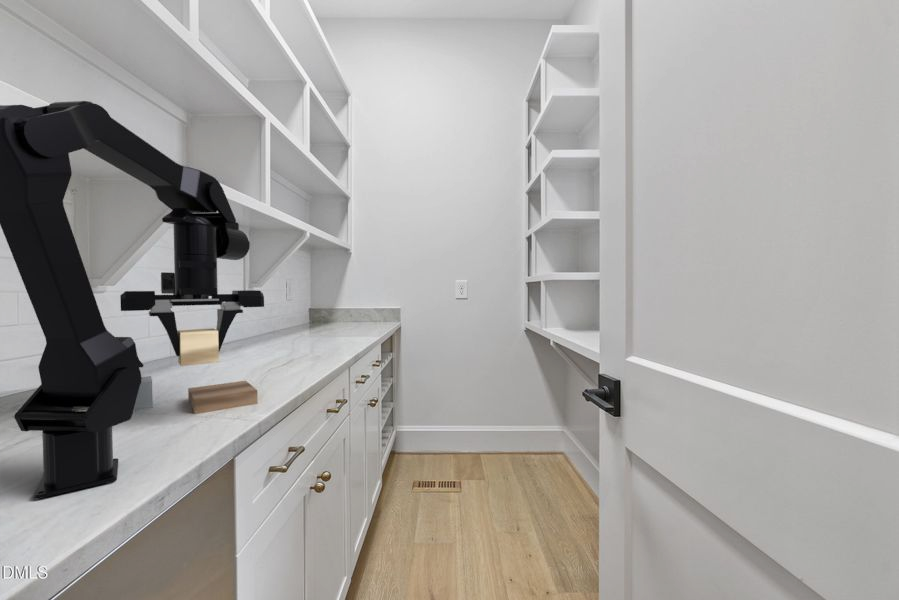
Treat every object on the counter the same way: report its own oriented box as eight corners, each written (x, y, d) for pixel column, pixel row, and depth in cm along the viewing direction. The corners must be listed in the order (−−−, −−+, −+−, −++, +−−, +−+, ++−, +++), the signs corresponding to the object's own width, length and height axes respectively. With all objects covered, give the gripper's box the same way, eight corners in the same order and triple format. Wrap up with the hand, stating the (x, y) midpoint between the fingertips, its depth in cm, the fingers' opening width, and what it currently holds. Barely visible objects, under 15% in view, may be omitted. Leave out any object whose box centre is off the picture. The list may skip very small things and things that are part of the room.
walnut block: (257, 406, 75) (257, 390, 75) (194, 416, 69) (194, 399, 69) (246, 395, 83) (245, 380, 83) (188, 403, 76) (188, 388, 76)
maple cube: (218, 362, 63) (218, 330, 63) (181, 366, 60) (180, 333, 60) (213, 358, 67) (213, 328, 67) (177, 361, 64) (177, 330, 64)
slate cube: (152, 408, 73) (152, 380, 72) (117, 413, 70) (116, 384, 69) (151, 402, 77) (151, 376, 76) (117, 406, 73) (117, 379, 73)
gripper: (248, 261, 75) (250, 343, 76) (120, 256, 64) (123, 353, 64) (264, 257, 67) (265, 350, 67) (118, 251, 55) (122, 364, 55)
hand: (198, 354), depth 64 cm, fingers closed on maple cube, 5 cm apart
